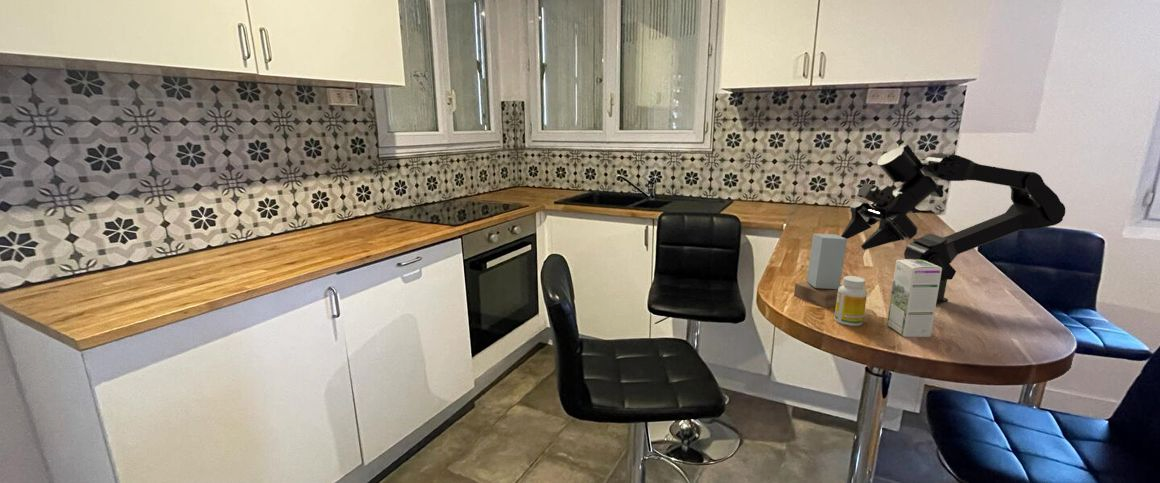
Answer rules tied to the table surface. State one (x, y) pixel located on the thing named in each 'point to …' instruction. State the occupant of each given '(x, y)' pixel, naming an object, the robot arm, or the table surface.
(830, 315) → the table surface
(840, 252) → the slate pillar
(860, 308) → the supplement bottle
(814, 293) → the walnut block
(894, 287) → the syrup box
